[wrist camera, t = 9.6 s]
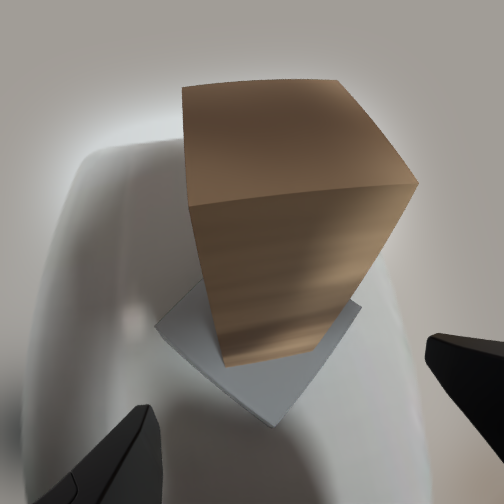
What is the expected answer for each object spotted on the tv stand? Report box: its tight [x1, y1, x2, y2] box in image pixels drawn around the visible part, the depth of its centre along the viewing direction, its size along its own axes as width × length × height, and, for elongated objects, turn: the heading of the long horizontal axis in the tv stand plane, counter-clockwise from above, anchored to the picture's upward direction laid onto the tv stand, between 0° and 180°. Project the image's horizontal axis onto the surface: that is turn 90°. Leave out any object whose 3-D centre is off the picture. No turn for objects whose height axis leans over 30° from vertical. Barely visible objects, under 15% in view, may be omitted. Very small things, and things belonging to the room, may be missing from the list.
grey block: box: [154, 278, 362, 428], centre depth 19 cm, size 9×9×2 cm
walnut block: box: [182, 79, 419, 368], centre depth 13 cm, size 5×5×13 cm
